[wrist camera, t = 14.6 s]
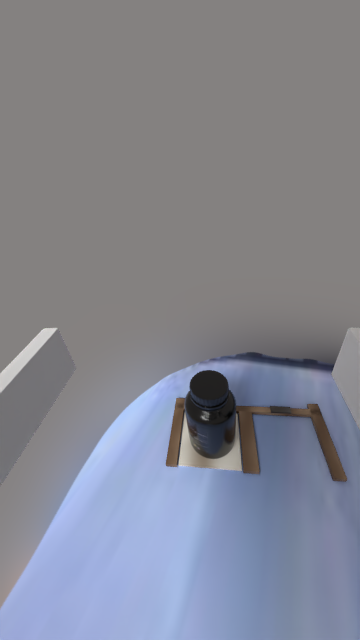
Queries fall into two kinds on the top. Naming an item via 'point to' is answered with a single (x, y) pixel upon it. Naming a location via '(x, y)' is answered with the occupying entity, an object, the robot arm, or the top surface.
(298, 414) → the flat wooden frame
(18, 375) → the robot arm
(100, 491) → the top surface
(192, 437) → the supplement bottle
